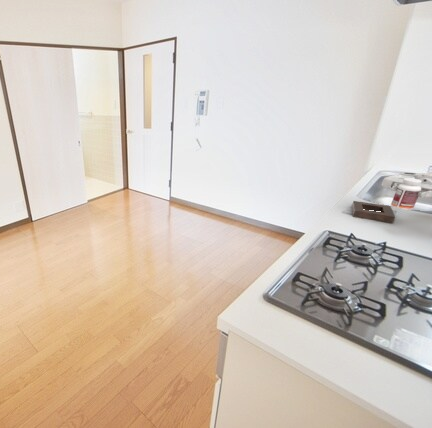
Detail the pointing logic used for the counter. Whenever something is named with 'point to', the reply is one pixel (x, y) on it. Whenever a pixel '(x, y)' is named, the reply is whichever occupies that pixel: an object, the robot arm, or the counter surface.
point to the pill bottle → (406, 194)
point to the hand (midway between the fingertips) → (406, 191)
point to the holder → (383, 216)
